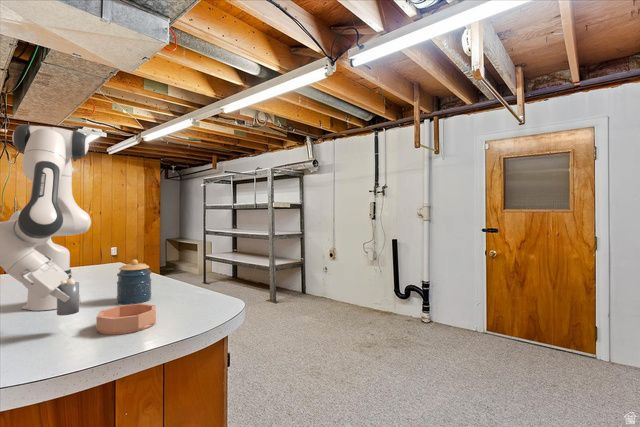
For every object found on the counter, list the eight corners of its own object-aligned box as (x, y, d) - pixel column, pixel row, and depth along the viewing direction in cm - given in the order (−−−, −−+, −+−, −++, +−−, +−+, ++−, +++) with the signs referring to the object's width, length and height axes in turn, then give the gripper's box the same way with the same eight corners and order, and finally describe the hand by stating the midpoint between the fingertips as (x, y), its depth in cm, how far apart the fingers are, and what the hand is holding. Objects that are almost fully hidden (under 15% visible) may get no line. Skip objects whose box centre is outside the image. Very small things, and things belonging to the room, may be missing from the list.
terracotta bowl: (101, 322, 112) (102, 307, 112) (155, 315, 120) (155, 301, 120) (93, 338, 98) (93, 321, 98) (155, 329, 105) (155, 313, 105)
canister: (150, 295, 150) (150, 256, 150) (152, 302, 139) (152, 260, 139) (116, 299, 143) (117, 258, 143) (116, 306, 132) (116, 262, 132)
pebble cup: (59, 311, 104) (59, 278, 104) (80, 309, 107) (80, 277, 106) (54, 316, 99) (54, 281, 99) (76, 314, 102) (77, 280, 102)
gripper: (28, 265, 90) (71, 297, 95) (50, 255, 109) (85, 282, 113) (6, 283, 88) (52, 314, 93) (32, 269, 107) (69, 296, 111)
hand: (70, 296), depth 103 cm, fingers closed on pebble cup, 5 cm apart
